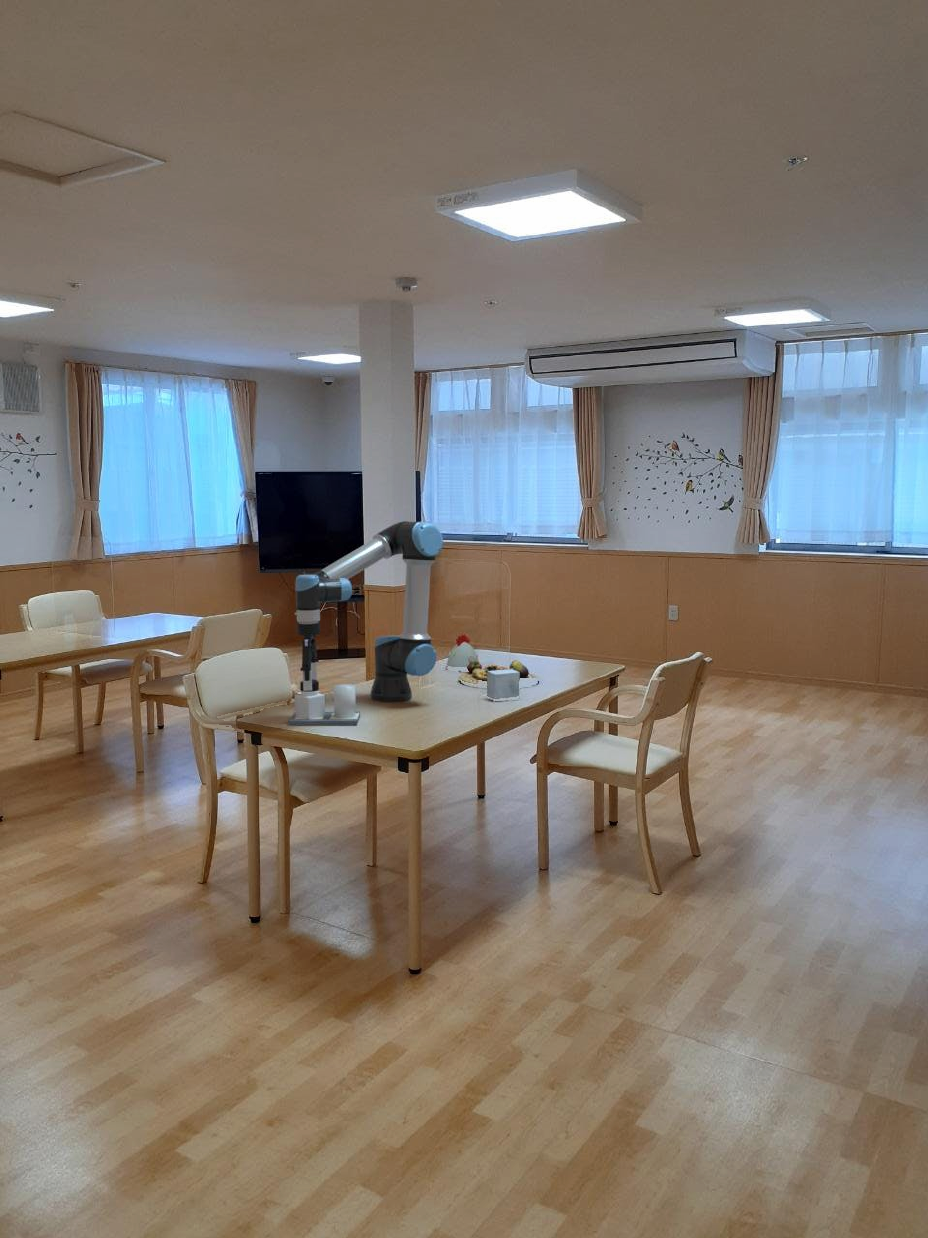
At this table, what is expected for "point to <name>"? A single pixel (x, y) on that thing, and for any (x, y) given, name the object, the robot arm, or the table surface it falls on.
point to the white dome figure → (462, 653)
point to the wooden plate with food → (478, 674)
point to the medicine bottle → (310, 702)
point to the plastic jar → (344, 701)
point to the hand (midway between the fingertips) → (310, 686)
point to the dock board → (325, 720)
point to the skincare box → (503, 683)
